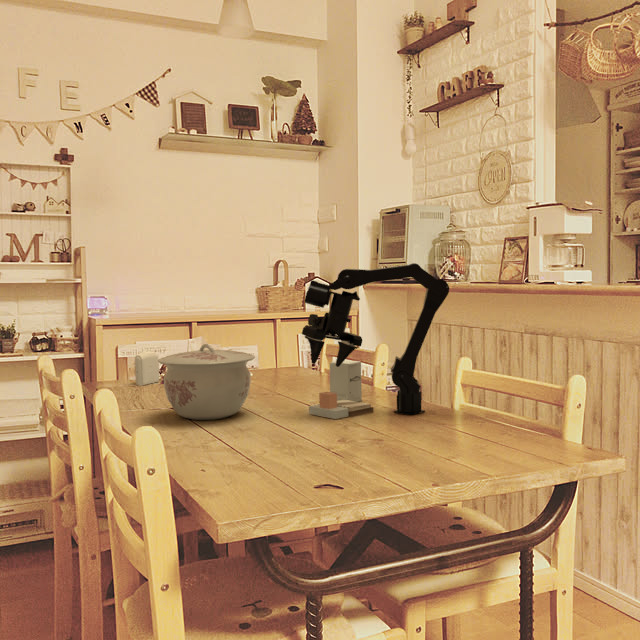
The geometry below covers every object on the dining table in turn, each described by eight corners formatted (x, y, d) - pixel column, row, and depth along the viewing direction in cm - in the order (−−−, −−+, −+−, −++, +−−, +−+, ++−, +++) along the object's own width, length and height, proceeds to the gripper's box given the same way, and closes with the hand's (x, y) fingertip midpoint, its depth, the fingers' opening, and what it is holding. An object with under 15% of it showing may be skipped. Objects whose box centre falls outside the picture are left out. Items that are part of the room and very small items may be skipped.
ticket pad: (373, 412, 195) (373, 403, 195) (350, 417, 190) (350, 408, 189) (344, 407, 204) (344, 398, 204) (321, 411, 198) (321, 402, 198)
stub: (348, 416, 190) (348, 394, 189) (335, 419, 186) (334, 396, 186) (322, 411, 198) (321, 389, 198) (308, 413, 195) (308, 392, 194)
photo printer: (142, 386, 255) (141, 353, 254) (133, 385, 257) (132, 352, 256) (161, 382, 264) (160, 350, 263) (152, 381, 266) (151, 349, 265)
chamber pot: (239, 427, 180) (237, 348, 179) (142, 424, 186) (139, 348, 184) (268, 407, 208) (266, 338, 206) (183, 405, 213) (181, 339, 212)
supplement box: (349, 404, 208) (348, 363, 207) (329, 402, 213) (328, 362, 212) (362, 401, 214) (361, 360, 213) (343, 398, 218) (342, 359, 218)
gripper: (344, 310, 206) (331, 360, 207) (297, 301, 194) (283, 354, 195) (369, 319, 197) (355, 371, 199) (321, 309, 185) (307, 365, 187)
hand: (325, 365), depth 195 cm, fingers open, 9 cm apart
